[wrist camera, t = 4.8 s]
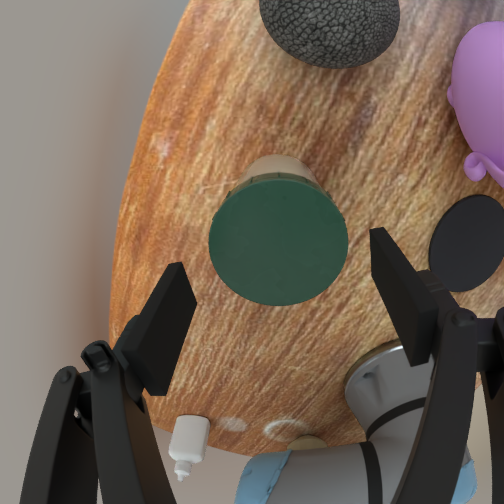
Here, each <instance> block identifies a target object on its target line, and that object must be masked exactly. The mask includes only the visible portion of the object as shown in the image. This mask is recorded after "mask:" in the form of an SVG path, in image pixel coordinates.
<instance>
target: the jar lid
mask: <svg viewBox="0 0 504 504" xmlns="http://www.w3.org/2000/svg"><path fill="white" fill-rule="evenodd" d="M212 220H213V222H212V225H211V228H210V233H209V253H210V257H211V261H212V263H213V266H214V268H215V270H216V272H217V274H218V275H219V277H220V278H221V279H222V281H223V282H224V283H225V284H226V285H227V286H228V287H229V288H230V289H232V290H233V291H234V292H235V293H237V294H238V295H240V296H242V297H244V298H246V299H248V300H250V301H253V302H256V303H259V304H264V305H270V306H286V305H293V304H298V303H301V302H304V301H307V300H309V299H311V298H313V297H315V296H317V295H318V294H320V293H321V292H323V291H324V290H325V289H327V288H328V287H329V286H330V285H331V284H332V283H333V282H334V280H335V279H336V278H337V276H338V275H339V273H340V272H341V270H342V268H343V265H344V263H345V260H346V257H347V252H348V233H347V228H346V225H345V222H344V221H345V219H344V218H343V216H342V214H341V213H340V211H339V209H338V208H337V206H336V204H335V202H334V201H333V200H332V198H331V196H330V194H329V192H328V191H327V192H326V191H325V190H324V189H323V188H321V187H320V186H319V185H318V184H316V183H314V182H313V181H311V180H309V179H307V177H306V176H305V177H302V176H299V175H296V174H292V173H284V172H280V171H278V172H273V173H265V174H261V175H257V176H254V177H252V176H251V177H250V179H247V180H246V181H244V182H242V183H241V184H239V185H238V186H237V187H235V188H234V189H233V190H232V191H229V192H228V194H227V196H226V198H225V199H224V200H223V202H222V204H221V206H220V207H219V209H218V211H217V212H216V213H215V215H214V217H213V219H212Z"/></svg>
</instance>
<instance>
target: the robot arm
mask: <svg viewBox="0 0 504 504" xmlns="http://www.w3.org/2000/svg"><path fill="white" fill-rule="evenodd" d="M369 233H370V251H371V276H372V278H373V280H374V282H375V285H376V287H377V289H378V291H379V293H380V295H381V298H382V300H383V302H384V304H385V306H386V309H387V311H388V313H389V316H390V318H391V320H392V322H393V325H394V327H395V330H396V332H397V334H398V337H399V339H397V340H394V341H391V342H388V343H385V344H383V345H381V346H379V347H377V348H375V349H373V350H372V351H370V352H368V353H367V354H365V355H364V356H363V357H362V358H360V359H359V360H358V361H357V362H356V363H355V364H354V365H353V366H352V367H351V369H350V370H349V372H348V373H347V375H346V377H345V380H344V394H345V399H346V402H347V404H348V406H349V408H350V409H351V411H352V412H353V414H354V415H355V417H356V419H357V420H358V422H359V423H360V425H361V427H362V428H363V430H364V431H365V435H366V440H367V441H366V442H361V443H354V444H347V445H340V446H333V447H325V448H315V449H305V450H293V449H289V450H287V451H282V452H270V453H261V454H258V455H256V456H254V457H253V458H251V459H250V461H249V462H248V463H247V465H246V466H245V468H244V470H243V473H242V475H241V478H240V481H239V485H238V489H237V492H236V497H235V502H234V504H466V503H467V502H468V501H469V500H470V499H471V498H472V497H473V495H474V494H475V492H476V489H477V480H476V475H475V469H474V465H473V464H474V461H473V459H471V456H470V453H469V450H468V447H467V439H468V433H469V428H470V422H471V415H472V408H473V401H474V392H475V382H476V372H480V375H481V380H482V385H483V391H484V397H485V403H486V410H487V416H488V425H489V434H490V444H491V460H492V504H504V307H502V308H500V309H499V310H498V311H497V314H496V317H495V318H477V316H476V315H475V314H474V313H473V312H472V311H470V310H468V309H465V308H460V307H459V305H458V304H457V302H456V301H455V299H454V298H453V297H452V295H451V294H450V292H449V291H448V290H447V289H446V287H445V285H444V284H443V283H442V281H441V280H440V279H439V277H438V276H437V275H436V274H435V273H433V272H431V271H430V270H428V269H427V270H422V271H417V272H416V271H415V269H414V268H413V267H412V265H411V264H410V262H409V261H408V259H407V258H406V257H405V255H404V254H403V253H402V251H401V250H400V248H399V247H398V246H397V244H396V243H395V242H394V240H393V239H392V238H391V236H390V235H389V234H388V232H387V231H386V230H385V228H384V227H380V228H374V229H369ZM196 306H197V301H196V298H195V296H194V293H193V291H192V288H191V285H190V283H189V280H188V277H187V275H186V272H185V269H184V267H183V264H182V262H176V263H171V264H168V266H167V268H166V269H165V271H164V273H163V275H162V276H161V278H160V280H159V281H158V283H157V285H156V287H155V288H154V290H153V292H152V294H151V295H150V297H149V299H148V301H147V302H146V304H145V306H144V308H143V310H142V311H141V313H140V315H135V316H134V317H133V318H132V319H131V320H130V321H129V322H128V323H127V325H126V326H125V328H124V331H123V332H122V333H121V335H120V337H119V339H118V341H117V342H116V344H115V346H114V348H113V350H111V348H110V346H109V345H108V343H107V342H105V341H101V340H100V341H95V342H93V343H91V344H89V345H88V346H87V347H86V348H85V349H84V350H83V351H82V353H81V358H82V359H83V361H84V362H85V364H86V365H87V366H88V368H89V369H90V371H87V372H83V373H79V372H78V371H77V369H76V368H75V367H73V366H67V367H64V368H62V369H60V370H59V371H58V372H57V374H56V375H55V377H54V379H53V381H52V384H51V387H50V390H49V393H48V396H47V398H46V402H45V405H44V408H43V411H42V414H41V417H40V420H39V424H38V427H37V430H36V434H35V438H34V441H33V445H32V448H31V452H30V456H29V460H28V464H27V469H26V473H25V478H24V483H23V487H22V493H21V498H20V504H97V490H98V478H99V483H100V489H101V495H102V500H103V504H177V503H176V500H175V498H174V495H173V492H172V489H171V487H170V483H169V480H168V478H167V475H166V471H165V468H164V465H163V462H162V459H161V456H160V452H159V449H158V445H157V442H156V438H155V435H154V431H153V428H152V424H151V420H150V416H149V412H148V408H147V404H146V400H145V398H144V397H143V395H142V392H143V390H144V387H145V389H146V390H147V392H148V393H149V394H150V396H166V394H167V391H168V388H169V385H170V382H171V379H172V376H173V373H174V370H175V367H176V364H177V361H178V358H179V355H180V352H181V349H182V346H183V343H184V340H185V337H186V335H187V332H188V329H189V326H190V323H191V320H192V317H193V314H194V312H195V309H196ZM75 410H76V411H77V412H78V416H77V418H76V417H75V416H74V412H75Z"/></svg>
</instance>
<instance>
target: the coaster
mask: <svg viewBox="0 0 504 504" xmlns="http://www.w3.org/2000/svg"><path fill="white" fill-rule="evenodd" d="M503 257H504V209H503V207H502V206H501V205H500V204H499V203H498V202H497V201H496V200H494V199H493V198H491V197H489V196H486V195H472V196H468V197H466V198H463V199H462V200H460V201H458V202H457V203H455V204H454V205H453V206H452V207H451V208H450V209H449V210H448V211H447V212H446V213H445V214H444V215H443V217H442V218H441V220H440V221H439V223H438V225H437V227H436V229H435V231H434V233H433V236H432V239H431V242H430V247H429V267H430V270H431V272H433V273H435V274H436V275H437V276H438V277H439V279H440V280H441V281H442V283H443V284H444V285H445V287H446V289H447V290H449V291H452V292H464V291H468V290H471V289H473V288H476V287H477V286H479V285H481V284H482V283H483V282H485V281H486V280H487V279H488V278H489V277H490V276H491V275H492V274H493V273H494V272H495V270H496V269H497V268H498V266H499V265H500V263H501V261H502V259H503Z"/></svg>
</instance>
